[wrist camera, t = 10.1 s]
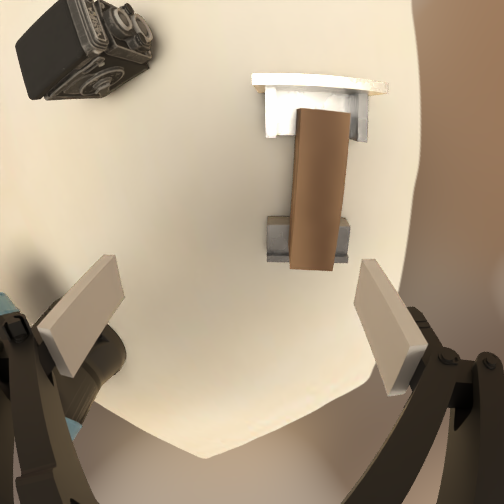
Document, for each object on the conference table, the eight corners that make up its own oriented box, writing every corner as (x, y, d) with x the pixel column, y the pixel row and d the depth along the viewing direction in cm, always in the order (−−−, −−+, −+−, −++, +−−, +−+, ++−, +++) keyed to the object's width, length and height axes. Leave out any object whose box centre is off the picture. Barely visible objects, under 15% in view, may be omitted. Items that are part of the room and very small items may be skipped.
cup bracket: (259, 133, 34) (253, 139, 25) (258, 84, 31) (251, 73, 22) (358, 137, 33) (386, 146, 24) (359, 89, 30) (388, 83, 21)
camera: (173, 66, 30) (114, 44, 17) (106, 105, 33) (29, 112, 19) (146, 6, 27) (85, -33, 13) (83, 47, 29) (9, 36, 15)
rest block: (267, 248, 40) (266, 261, 37) (267, 216, 38) (267, 227, 35) (341, 249, 40) (347, 262, 36) (345, 218, 38) (351, 228, 34)
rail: (288, 244, 37) (289, 268, 31) (296, 109, 30) (301, 107, 24) (324, 246, 36) (332, 271, 31) (337, 113, 29) (350, 113, 24)
